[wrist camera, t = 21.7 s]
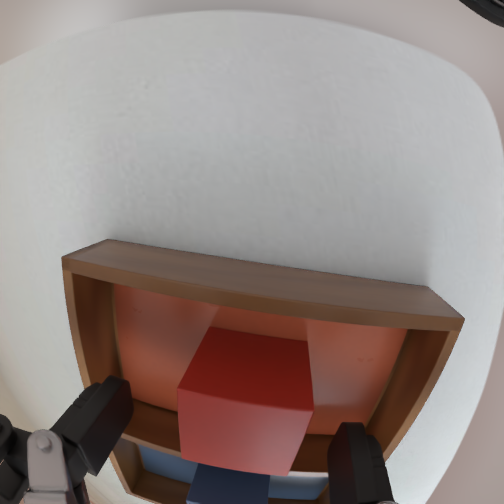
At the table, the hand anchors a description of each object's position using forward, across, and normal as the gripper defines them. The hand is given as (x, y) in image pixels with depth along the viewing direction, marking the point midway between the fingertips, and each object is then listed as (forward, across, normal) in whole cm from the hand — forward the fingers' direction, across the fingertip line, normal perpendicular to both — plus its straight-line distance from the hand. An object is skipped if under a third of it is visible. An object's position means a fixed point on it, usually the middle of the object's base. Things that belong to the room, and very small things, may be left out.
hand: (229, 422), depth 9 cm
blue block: (+4, 0, +10) cm, 11 cm away
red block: (+4, 0, +1) cm, 4 cm away
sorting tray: (+5, 0, +5) cm, 7 cm away
